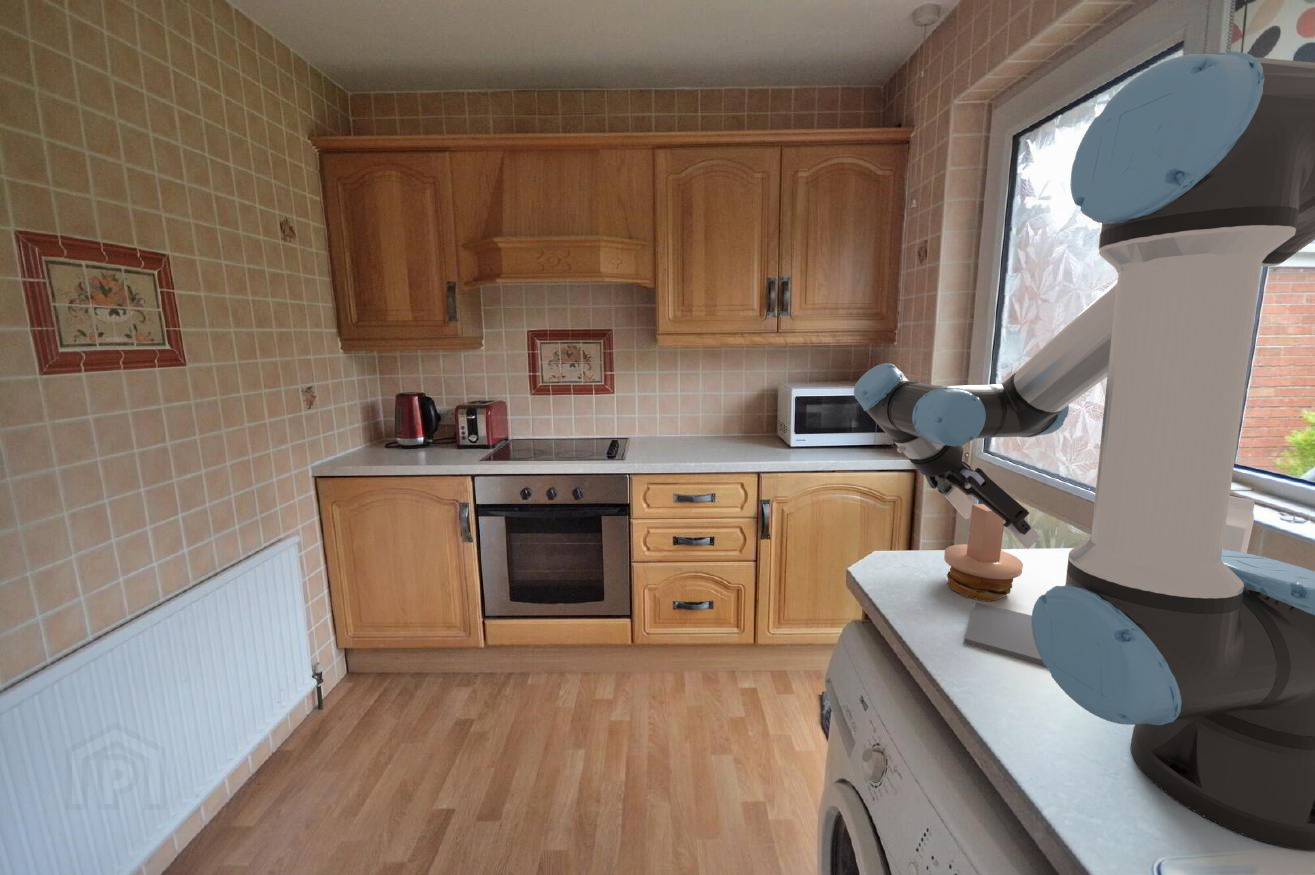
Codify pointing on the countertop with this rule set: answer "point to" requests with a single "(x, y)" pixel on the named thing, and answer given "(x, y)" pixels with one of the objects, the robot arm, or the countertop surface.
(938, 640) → the countertop surface
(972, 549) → the lid
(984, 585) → the burger
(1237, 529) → the milk
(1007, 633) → the mat
